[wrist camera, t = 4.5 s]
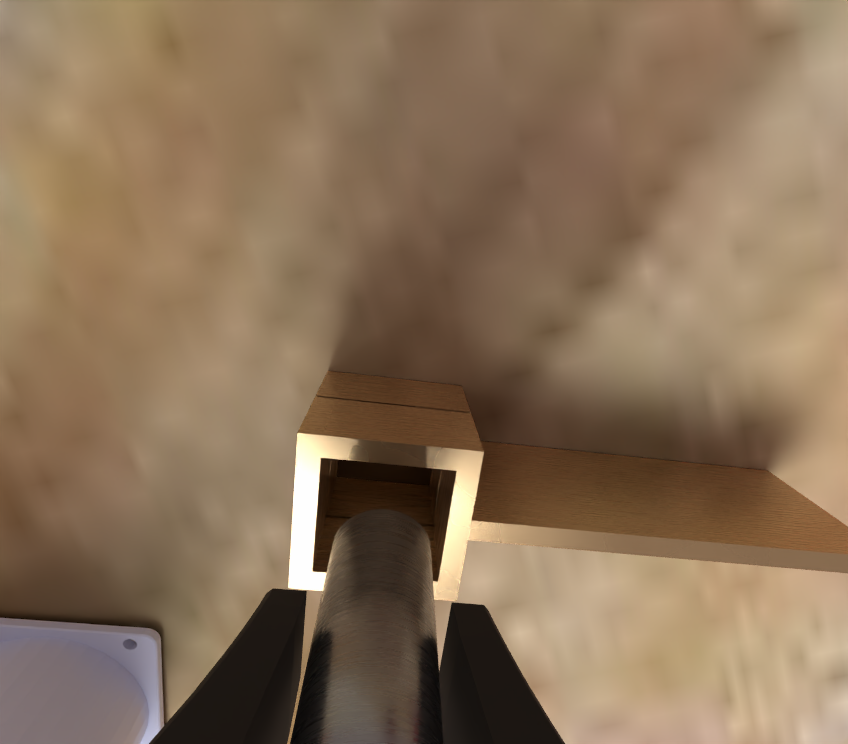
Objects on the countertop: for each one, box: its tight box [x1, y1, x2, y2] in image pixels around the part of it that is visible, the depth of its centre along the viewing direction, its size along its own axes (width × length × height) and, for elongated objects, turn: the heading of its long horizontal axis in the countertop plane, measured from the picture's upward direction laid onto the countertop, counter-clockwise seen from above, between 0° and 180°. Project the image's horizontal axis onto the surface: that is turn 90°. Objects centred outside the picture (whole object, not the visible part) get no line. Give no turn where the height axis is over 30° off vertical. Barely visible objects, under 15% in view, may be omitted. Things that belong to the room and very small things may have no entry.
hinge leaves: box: [288, 371, 848, 601], centre depth 17 cm, size 17×17×5 cm
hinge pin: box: [290, 509, 443, 744], centre depth 7 cm, size 3×3×8 cm
